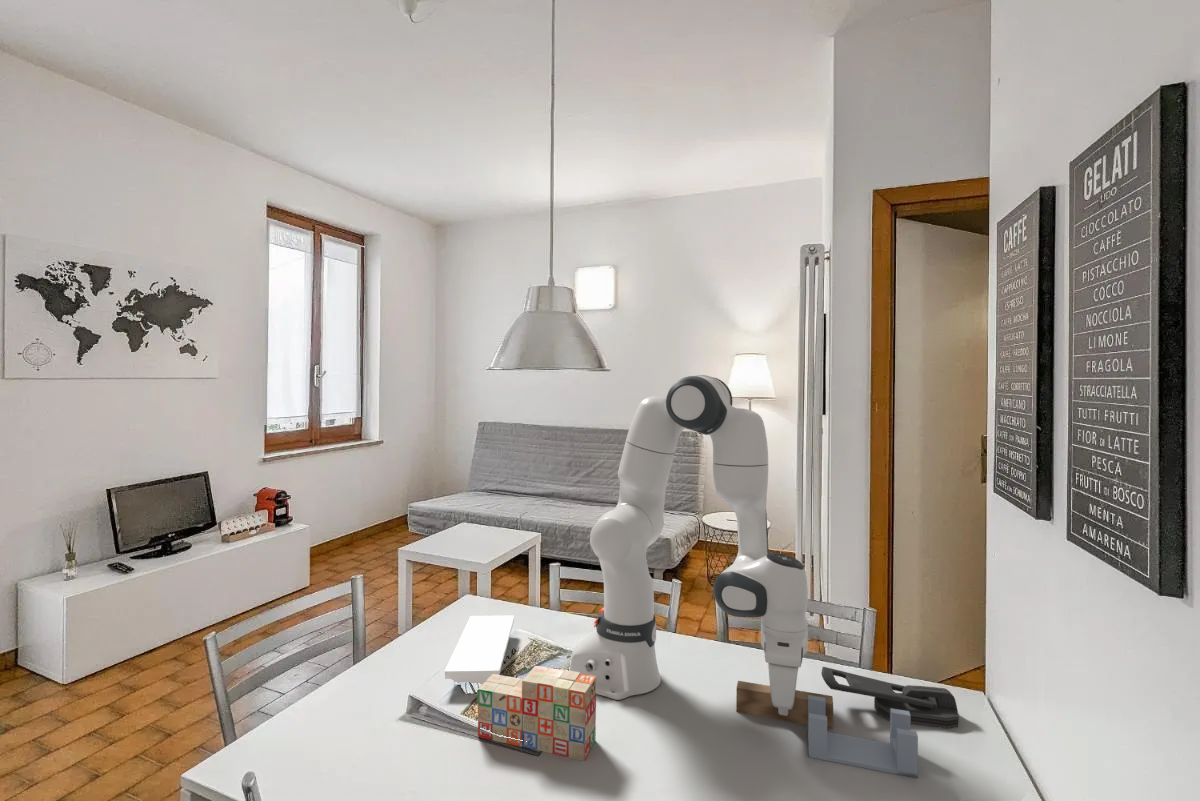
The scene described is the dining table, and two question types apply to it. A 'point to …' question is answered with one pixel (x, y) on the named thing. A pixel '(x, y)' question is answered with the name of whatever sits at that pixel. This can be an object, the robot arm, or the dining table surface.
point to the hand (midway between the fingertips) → (783, 707)
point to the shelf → (480, 649)
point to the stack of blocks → (541, 711)
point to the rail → (760, 703)
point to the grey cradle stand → (864, 743)
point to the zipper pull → (901, 698)
